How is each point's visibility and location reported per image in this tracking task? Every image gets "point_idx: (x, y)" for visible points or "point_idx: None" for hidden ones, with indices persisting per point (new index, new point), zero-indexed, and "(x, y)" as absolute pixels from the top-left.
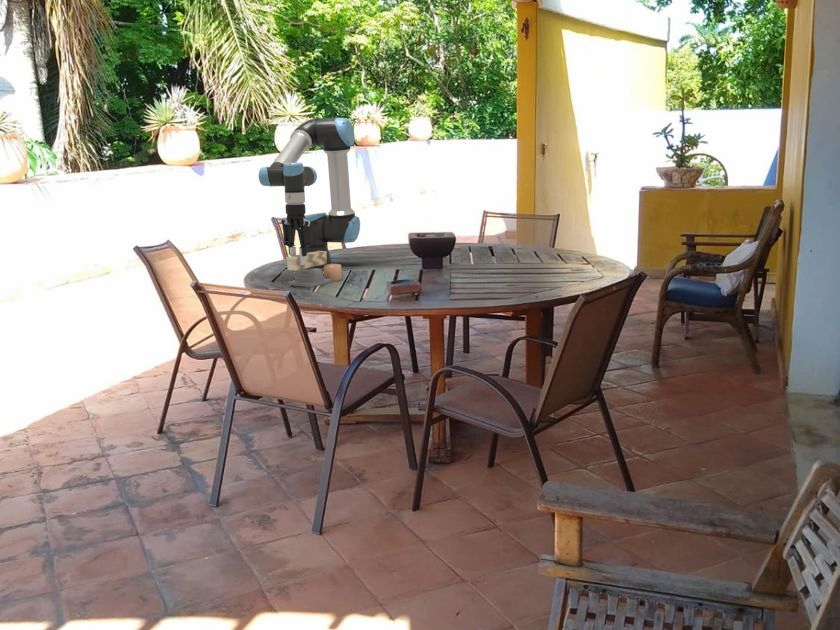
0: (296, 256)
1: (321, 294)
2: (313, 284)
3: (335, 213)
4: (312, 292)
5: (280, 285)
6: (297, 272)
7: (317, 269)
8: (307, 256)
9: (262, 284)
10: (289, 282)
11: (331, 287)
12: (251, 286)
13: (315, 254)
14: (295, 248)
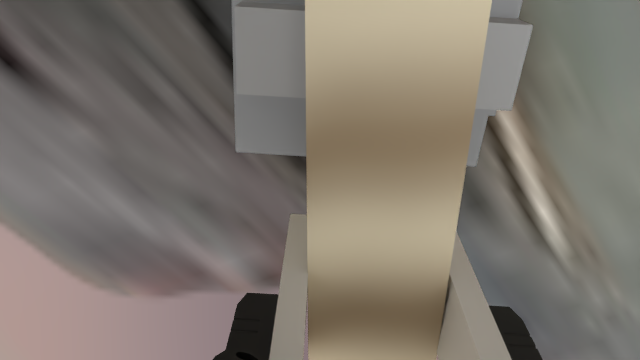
0: (387, 348)
1: (634, 287)
2: (480, 138)
3: None
4: (550, 264)
5: (196, 167)
6: (267, 101)
7: (508, 72)
8: (453, 203)
9: (54, 187)
10: (253, 150)
11: (618, 77)
12: (56, 262)
13: (485, 5)
14: (302, 350)
